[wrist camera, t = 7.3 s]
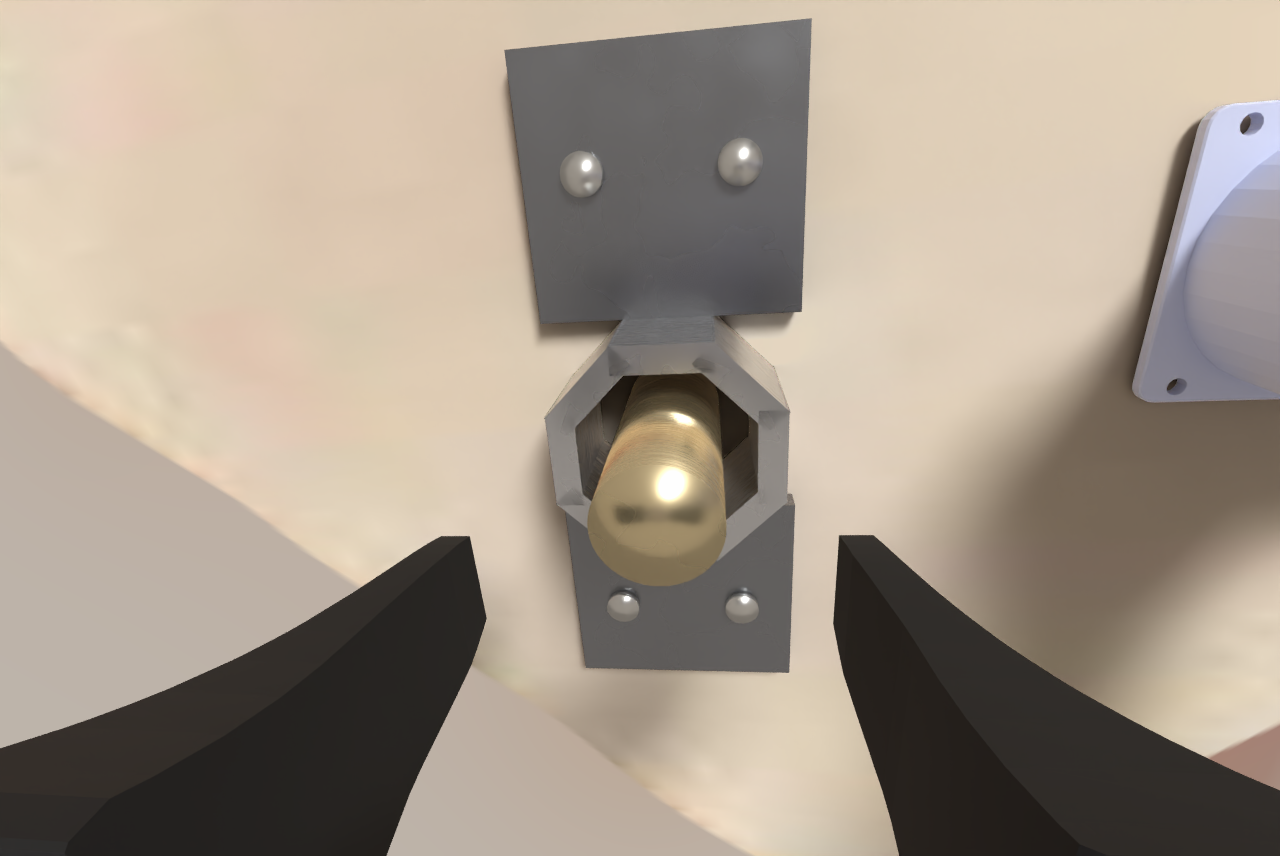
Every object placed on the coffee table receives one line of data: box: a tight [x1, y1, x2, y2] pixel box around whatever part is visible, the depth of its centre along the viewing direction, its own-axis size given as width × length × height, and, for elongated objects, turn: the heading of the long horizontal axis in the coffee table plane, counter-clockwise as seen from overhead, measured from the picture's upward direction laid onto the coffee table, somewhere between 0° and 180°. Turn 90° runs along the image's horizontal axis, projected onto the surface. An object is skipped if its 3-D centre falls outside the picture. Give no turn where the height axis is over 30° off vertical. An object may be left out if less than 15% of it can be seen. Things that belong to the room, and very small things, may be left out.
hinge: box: [505, 18, 812, 673], centre depth 18 cm, size 21×8×4 cm, turn 4°
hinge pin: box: [587, 373, 727, 586], centre depth 17 cm, size 3×3×8 cm
